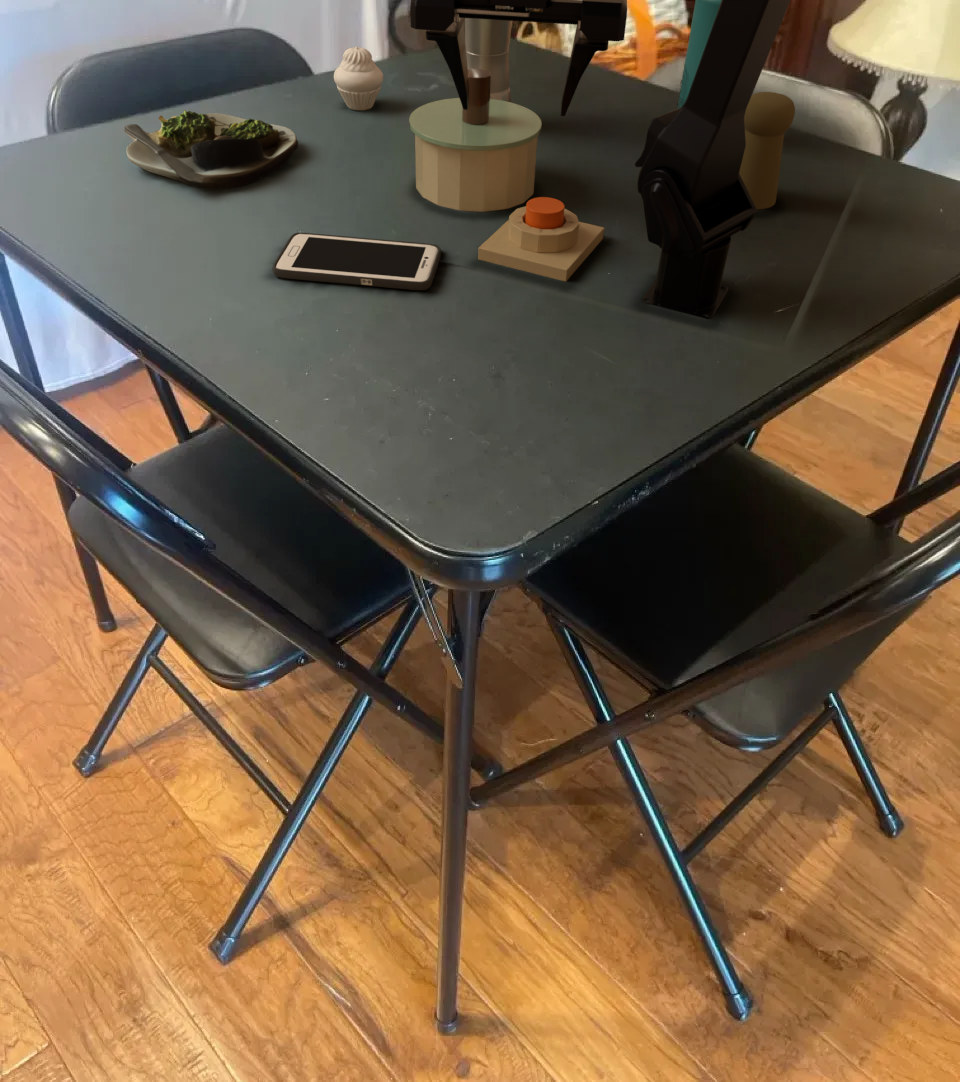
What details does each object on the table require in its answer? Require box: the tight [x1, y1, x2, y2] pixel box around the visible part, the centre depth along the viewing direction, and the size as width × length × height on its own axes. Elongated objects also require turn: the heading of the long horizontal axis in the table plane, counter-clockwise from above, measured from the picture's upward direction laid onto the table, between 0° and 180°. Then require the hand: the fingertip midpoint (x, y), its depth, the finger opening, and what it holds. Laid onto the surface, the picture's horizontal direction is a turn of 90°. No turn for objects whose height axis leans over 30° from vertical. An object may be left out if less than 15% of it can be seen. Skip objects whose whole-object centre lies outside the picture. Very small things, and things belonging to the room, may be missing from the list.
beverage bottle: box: [675, 0, 722, 110], centre depth 106 cm, size 6×7×20 cm
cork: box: [739, 91, 796, 210], centre depth 96 cm, size 6×6×11 cm
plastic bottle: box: [465, 6, 513, 103], centre depth 106 cm, size 6×7×20 cm
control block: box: [477, 205, 605, 282], centre depth 88 cm, size 10×9×4 cm
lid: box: [408, 69, 543, 151], centre depth 93 cm, size 14×14×6 cm
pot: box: [414, 134, 539, 213], centre depth 97 cm, size 13×13×7 cm
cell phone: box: [272, 232, 442, 291], centre depth 86 cm, size 8×15×1 cm, turn 83°
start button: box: [525, 196, 566, 229], centre depth 87 cm, size 4×4×2 cm
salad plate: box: [123, 110, 299, 190], centre depth 102 cm, size 19×18×5 cm
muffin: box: [333, 45, 384, 111], centre depth 115 cm, size 6×6×7 cm
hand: (514, 111), depth 87 cm, fingers open, 9 cm apart
